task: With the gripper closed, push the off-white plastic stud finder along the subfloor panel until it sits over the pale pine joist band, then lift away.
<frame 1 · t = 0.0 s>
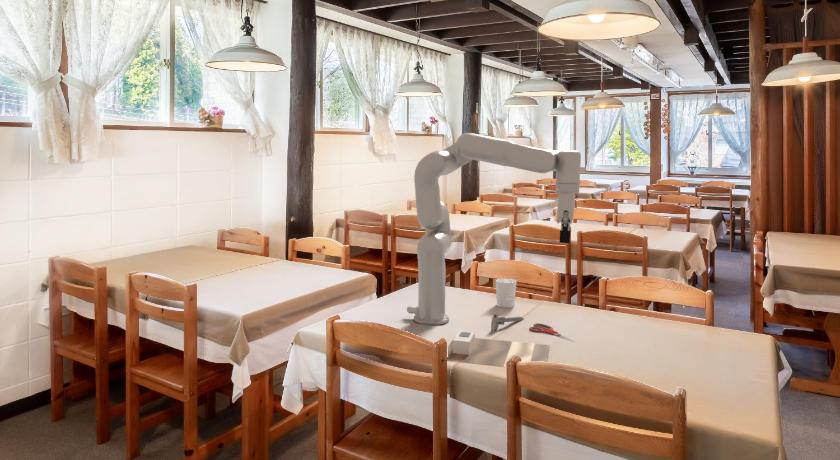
hand: (564, 240, 193), 31 cm above the table, tool pointing down, fingers open, 9 cm apart
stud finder: (463, 348, 179), resting on subfloor panel
scissors: (557, 336, 195), on the table
subfloor panel: (496, 353, 176), on the table
white cup: (505, 306, 229), on the table
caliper: (507, 326, 204), on the table
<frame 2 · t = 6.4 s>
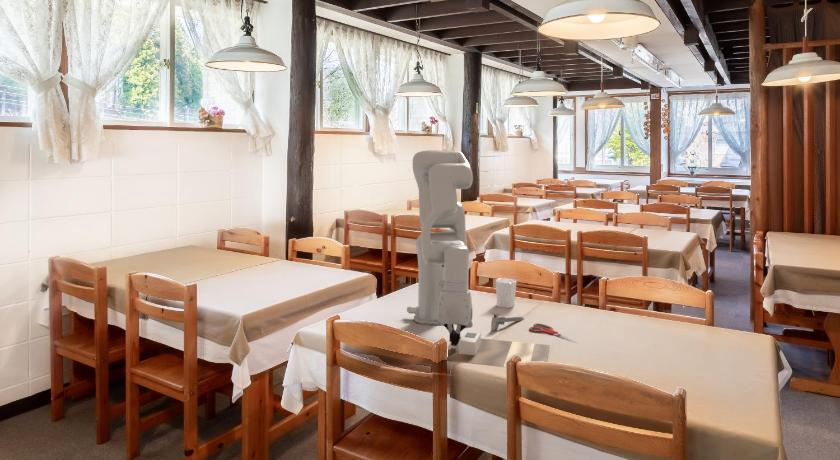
hand: (454, 344, 179), 2 cm above the table, tool pointing down, fingers closed
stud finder: (469, 349, 178), point 1 cm above the table, touching gripper
everything else where it was.
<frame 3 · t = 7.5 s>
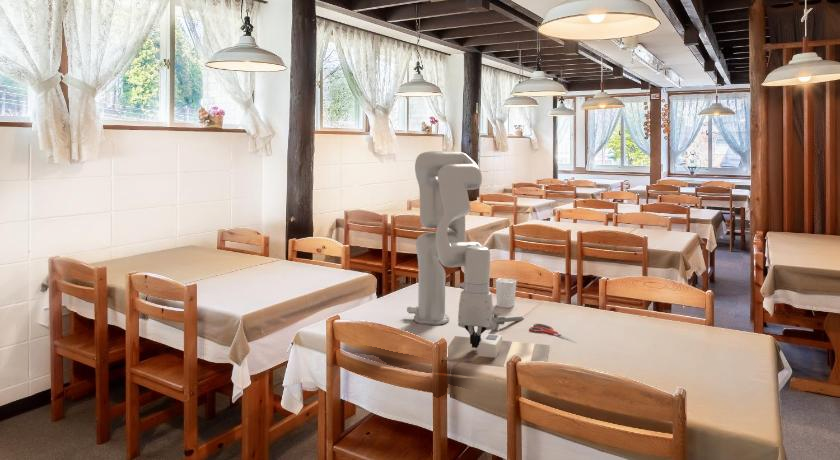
hand: (475, 346, 178), 2 cm above the table, tool pointing down, fingers closed
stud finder: (490, 351, 176), point 1 cm above the table, touching gripper
everything else where it was.
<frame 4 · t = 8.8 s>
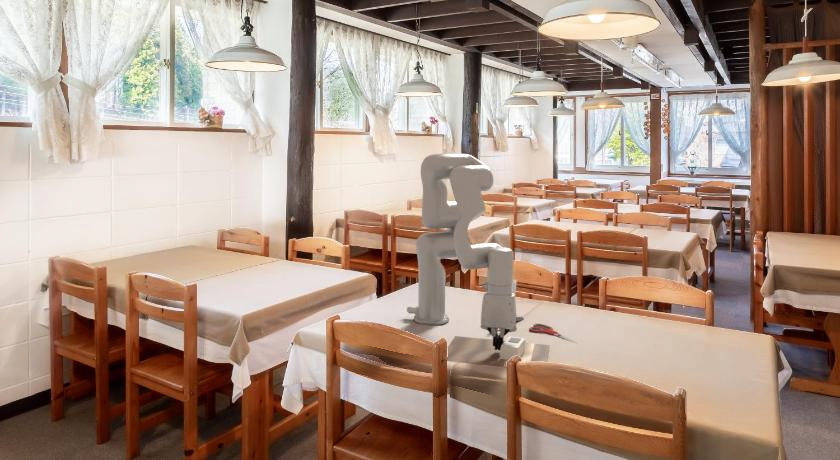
hand: (497, 348, 176), 2 cm above the table, tool pointing down, fingers closed
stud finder: (513, 354, 174), point 1 cm above the table, touching gripper, subfloor panel
everything else where it was.
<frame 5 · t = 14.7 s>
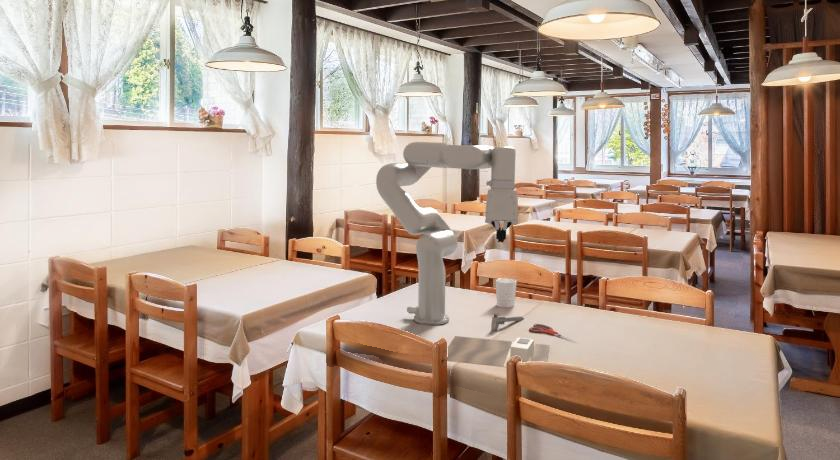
hand: (501, 241, 190), 31 cm above the table, tool pointing down, fingers closed
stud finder: (522, 355, 173), resting on subfloor panel
everything else where it was.
at the end: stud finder inside the target area on the subfloor panel (1.2 cm from its centre), point 0.5 cm above the subfloor panel's base; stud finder moved 17.8 cm from its start; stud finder tilted 0° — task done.
